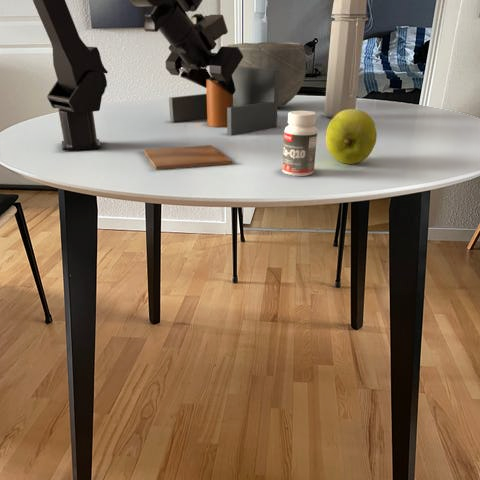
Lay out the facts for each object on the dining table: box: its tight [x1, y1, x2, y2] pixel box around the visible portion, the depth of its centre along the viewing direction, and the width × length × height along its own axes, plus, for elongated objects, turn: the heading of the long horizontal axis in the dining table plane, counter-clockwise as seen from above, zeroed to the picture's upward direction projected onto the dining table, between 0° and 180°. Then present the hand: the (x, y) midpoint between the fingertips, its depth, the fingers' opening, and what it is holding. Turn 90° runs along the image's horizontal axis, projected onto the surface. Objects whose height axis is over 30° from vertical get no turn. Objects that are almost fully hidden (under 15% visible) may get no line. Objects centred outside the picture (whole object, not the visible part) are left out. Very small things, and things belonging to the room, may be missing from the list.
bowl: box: [226, 41, 307, 107], centre depth 127 cm, size 21×21×15 cm
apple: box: [325, 108, 378, 165], centre depth 78 cm, size 8×9×8 cm
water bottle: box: [323, 0, 369, 119], centre depth 111 cm, size 9×8×25 cm
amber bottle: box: [205, 78, 233, 128], centre depth 106 cm, size 6×6×12 cm
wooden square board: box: [143, 144, 232, 171], centre depth 82 cm, size 12×12×1 cm
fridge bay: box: [168, 66, 279, 136], centre depth 106 cm, size 13×20×11 cm, turn 43°
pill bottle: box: [282, 110, 318, 177], centre depth 72 cm, size 5×5×8 cm
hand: (224, 91), depth 106 cm, fingers closed on amber bottle, 5 cm apart
